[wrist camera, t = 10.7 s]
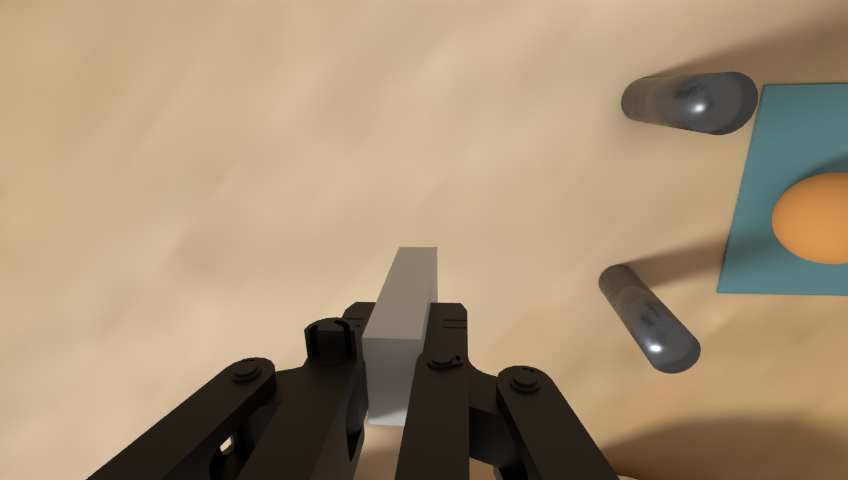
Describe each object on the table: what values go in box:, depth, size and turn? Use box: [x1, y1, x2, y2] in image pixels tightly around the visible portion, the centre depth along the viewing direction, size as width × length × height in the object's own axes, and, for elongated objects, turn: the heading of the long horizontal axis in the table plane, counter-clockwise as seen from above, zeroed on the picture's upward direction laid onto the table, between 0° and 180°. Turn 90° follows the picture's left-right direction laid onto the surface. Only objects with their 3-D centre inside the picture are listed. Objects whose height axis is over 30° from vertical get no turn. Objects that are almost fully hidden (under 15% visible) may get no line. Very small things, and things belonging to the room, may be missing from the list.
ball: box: [772, 172, 848, 264], centre depth 26 cm, size 6×6×6 cm
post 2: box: [599, 265, 701, 373], centre depth 27 cm, size 3×3×9 cm
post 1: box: [621, 72, 758, 135], centre depth 23 cm, size 3×3×9 cm
